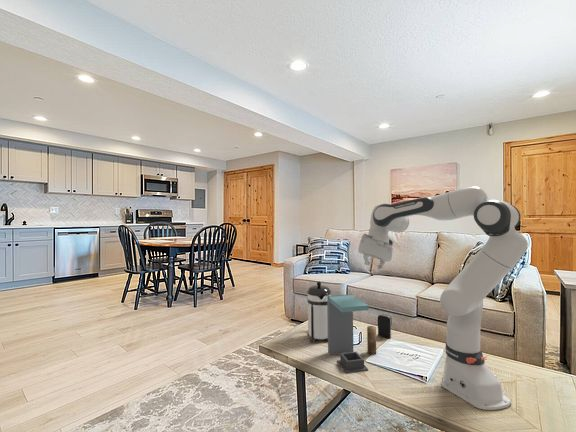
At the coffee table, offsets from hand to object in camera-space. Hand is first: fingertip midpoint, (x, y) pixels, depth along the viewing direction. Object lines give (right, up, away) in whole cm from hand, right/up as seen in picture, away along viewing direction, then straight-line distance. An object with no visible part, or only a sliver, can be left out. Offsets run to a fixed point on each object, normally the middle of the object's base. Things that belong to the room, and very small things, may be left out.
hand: (373, 267), depth 138 cm
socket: (-12, -41, -10) cm, 44 cm away
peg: (0, -41, +1) cm, 41 cm away
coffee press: (-24, -41, +20) cm, 52 cm away
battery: (+12, -41, +20) cm, 47 cm away
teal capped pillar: (-13, -41, -5) cm, 43 cm away
